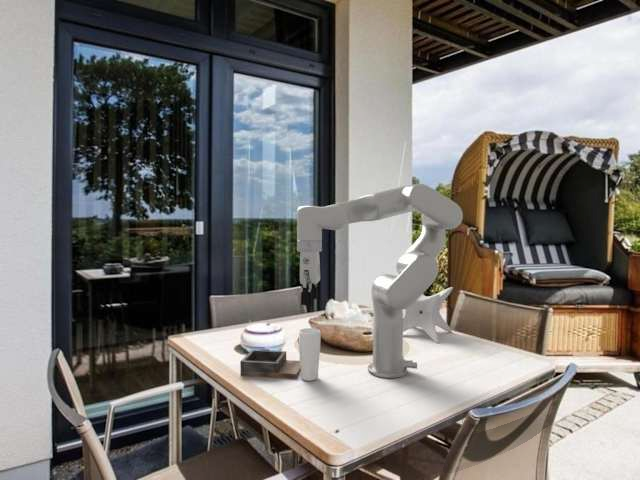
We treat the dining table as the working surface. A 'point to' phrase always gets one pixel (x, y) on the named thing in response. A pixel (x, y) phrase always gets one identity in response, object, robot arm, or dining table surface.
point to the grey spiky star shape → (427, 314)
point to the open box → (269, 364)
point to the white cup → (309, 353)
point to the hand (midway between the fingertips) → (309, 301)
